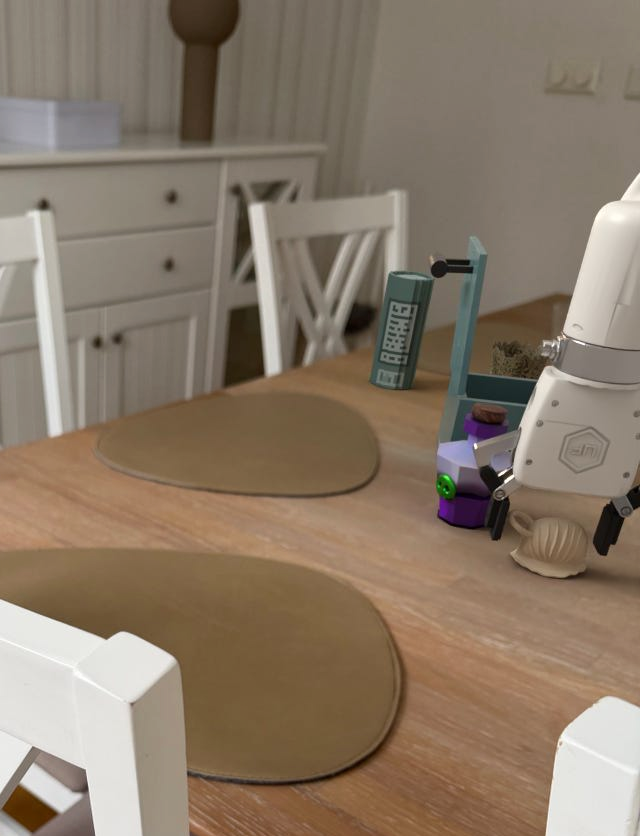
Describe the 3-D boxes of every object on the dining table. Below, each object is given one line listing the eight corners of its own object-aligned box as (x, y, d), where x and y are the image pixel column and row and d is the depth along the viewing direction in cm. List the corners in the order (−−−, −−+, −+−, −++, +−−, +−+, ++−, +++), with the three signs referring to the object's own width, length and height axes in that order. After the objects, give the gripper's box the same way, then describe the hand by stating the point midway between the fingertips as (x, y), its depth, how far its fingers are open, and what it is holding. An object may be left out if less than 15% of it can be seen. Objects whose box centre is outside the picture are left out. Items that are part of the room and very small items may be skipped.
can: (415, 380, 144) (436, 274, 136) (409, 392, 139) (431, 282, 131) (374, 374, 146) (393, 268, 138) (366, 384, 141) (386, 276, 133)
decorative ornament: (587, 584, 91) (605, 531, 88) (495, 568, 92) (509, 516, 90) (583, 565, 94) (600, 514, 91) (494, 550, 96) (507, 499, 93)
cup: (469, 401, 137) (483, 343, 133) (497, 392, 141) (511, 336, 137) (517, 416, 132) (533, 357, 128) (544, 407, 137) (560, 349, 133)
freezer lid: (477, 236, 110) (429, 234, 110) (487, 254, 100) (435, 252, 101) (456, 366, 117) (411, 364, 118) (464, 395, 107) (416, 392, 108)
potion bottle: (406, 516, 102) (430, 403, 95) (443, 494, 107) (468, 386, 101) (484, 543, 97) (515, 427, 91) (518, 519, 103) (549, 408, 97)
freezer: (550, 454, 120) (570, 383, 116) (566, 490, 111) (589, 413, 106) (436, 440, 122) (452, 370, 117) (442, 474, 112) (459, 398, 108)
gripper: (503, 359, 81) (455, 546, 90) (722, 385, 79) (651, 573, 88) (493, 338, 87) (449, 513, 96) (695, 361, 85) (632, 538, 94)
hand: (546, 542), depth 92 cm, fingers open, 9 cm apart
